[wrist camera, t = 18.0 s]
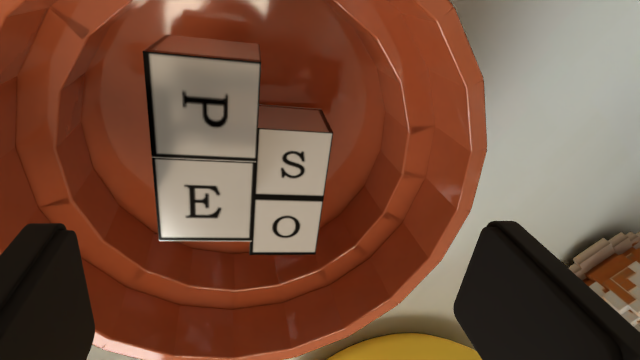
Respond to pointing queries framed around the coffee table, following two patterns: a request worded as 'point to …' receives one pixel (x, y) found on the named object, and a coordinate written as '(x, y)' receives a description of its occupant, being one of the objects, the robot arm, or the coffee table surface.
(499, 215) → the coffee table surface
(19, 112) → the bowl
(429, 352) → the teapot
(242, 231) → the building blocks
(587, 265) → the decorative ornament
